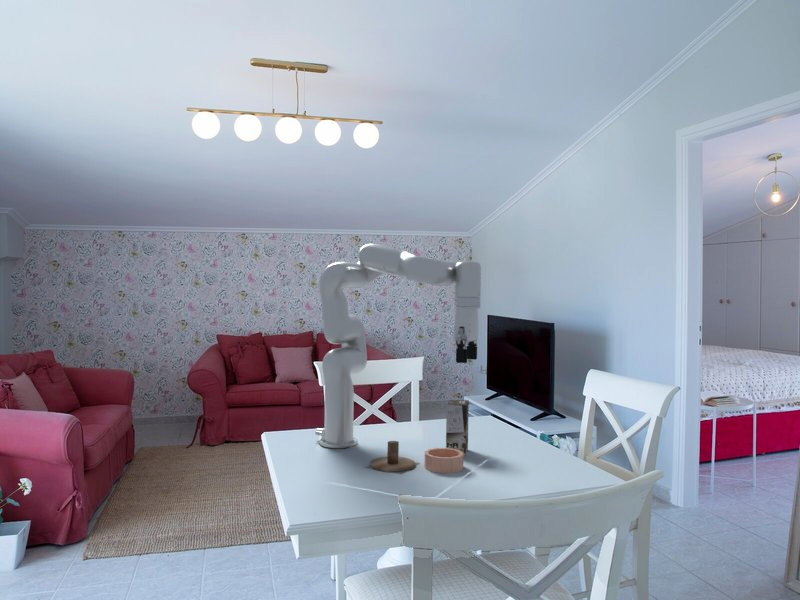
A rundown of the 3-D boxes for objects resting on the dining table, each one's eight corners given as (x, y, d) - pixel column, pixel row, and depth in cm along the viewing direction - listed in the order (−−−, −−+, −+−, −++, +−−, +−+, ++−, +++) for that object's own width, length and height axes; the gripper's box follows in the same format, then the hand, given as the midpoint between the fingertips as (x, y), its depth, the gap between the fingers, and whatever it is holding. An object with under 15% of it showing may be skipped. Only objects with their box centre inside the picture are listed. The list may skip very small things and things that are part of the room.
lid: (362, 467, 180) (362, 444, 179) (383, 457, 191) (384, 434, 191) (402, 474, 174) (403, 450, 174) (422, 463, 185) (422, 440, 185)
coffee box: (465, 457, 194) (466, 405, 194) (445, 455, 195) (446, 404, 195) (468, 449, 203) (469, 399, 203) (448, 448, 204) (449, 398, 204)
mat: (364, 468, 180) (364, 467, 180) (384, 458, 191) (384, 457, 191) (401, 475, 174) (401, 473, 174) (420, 464, 185) (420, 463, 185)
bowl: (418, 470, 179) (418, 454, 179) (433, 460, 189) (434, 446, 189) (454, 476, 174) (454, 460, 174) (468, 466, 184) (468, 451, 184)
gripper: (464, 302, 195) (463, 357, 195) (445, 303, 179) (444, 363, 180) (487, 303, 192) (487, 358, 192) (471, 304, 176) (470, 365, 177)
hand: (466, 360), depth 186 cm, fingers open, 9 cm apart
